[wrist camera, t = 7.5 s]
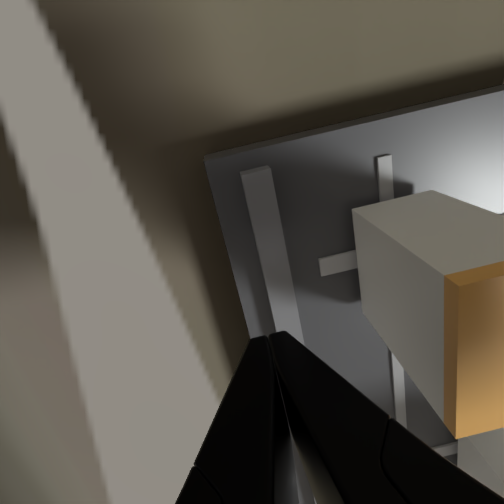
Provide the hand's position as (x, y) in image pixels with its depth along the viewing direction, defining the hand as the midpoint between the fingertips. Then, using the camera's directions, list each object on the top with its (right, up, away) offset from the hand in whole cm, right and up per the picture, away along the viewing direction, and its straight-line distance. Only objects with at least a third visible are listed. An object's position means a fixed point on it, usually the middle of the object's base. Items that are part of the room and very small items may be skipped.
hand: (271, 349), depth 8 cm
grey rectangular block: (+4, +2, +3) cm, 5 cm away
